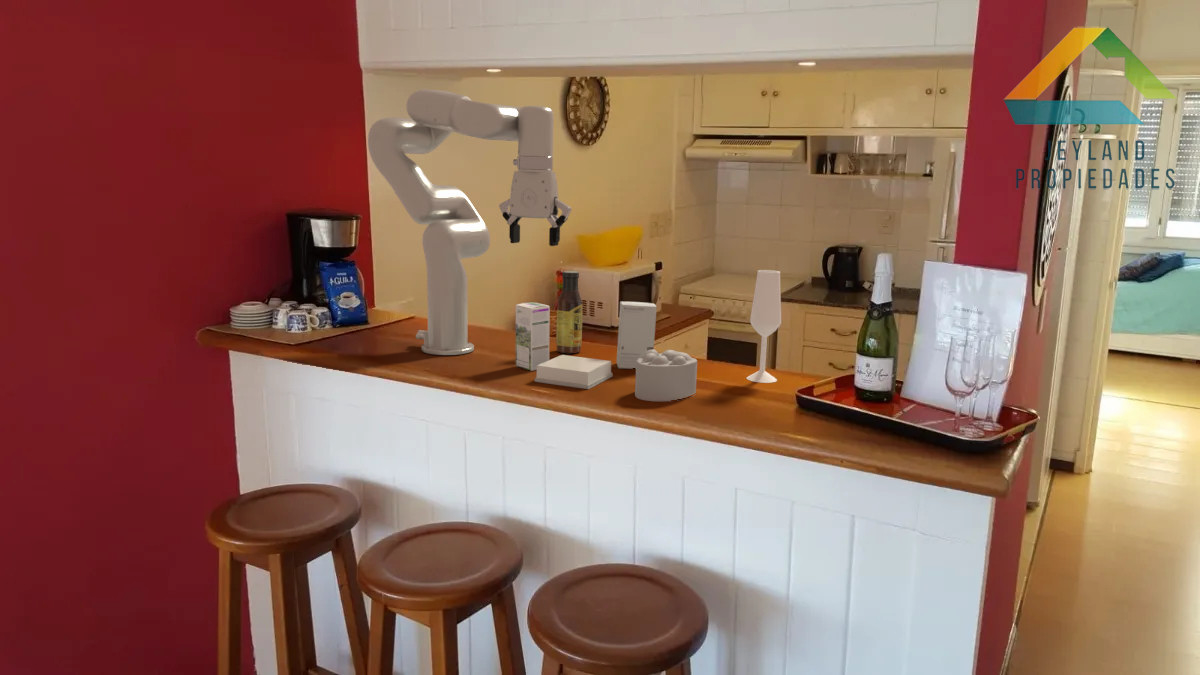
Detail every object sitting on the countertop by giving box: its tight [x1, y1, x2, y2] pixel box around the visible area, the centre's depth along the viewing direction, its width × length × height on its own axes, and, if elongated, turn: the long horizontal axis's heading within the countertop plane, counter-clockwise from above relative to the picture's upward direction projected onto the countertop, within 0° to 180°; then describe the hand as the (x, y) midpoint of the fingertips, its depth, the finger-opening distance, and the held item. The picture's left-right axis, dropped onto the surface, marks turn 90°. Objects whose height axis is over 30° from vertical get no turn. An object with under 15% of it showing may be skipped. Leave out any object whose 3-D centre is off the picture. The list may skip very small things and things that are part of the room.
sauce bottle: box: [555, 270, 583, 355], centre depth 212 cm, size 7×6×20 cm
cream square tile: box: [534, 354, 614, 390], centre depth 187 cm, size 13×13×4 cm
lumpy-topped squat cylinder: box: [634, 348, 698, 402], centre depth 176 cm, size 10×13×9 cm
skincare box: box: [616, 301, 657, 370], centre depth 199 cm, size 8×6×15 cm
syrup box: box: [515, 301, 551, 372], centre depth 195 cm, size 6×6×14 cm
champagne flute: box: [746, 269, 782, 384], centre depth 189 cm, size 7×7×24 cm
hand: (534, 244), depth 191 cm, fingers open, 9 cm apart
